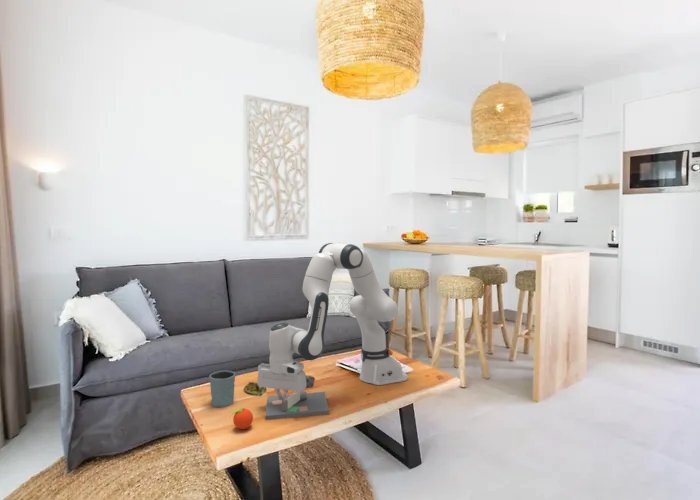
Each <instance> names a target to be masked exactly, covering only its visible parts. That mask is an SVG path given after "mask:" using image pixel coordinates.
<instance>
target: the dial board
mask: <svg viewBox="0 0 700 500" xmlns="http://www.w3.org/2000/svg"><path fill="white" fill-rule="evenodd" d="M292 394H293V393H291V394H286V398H287V397H289V396H290V395H292ZM266 397H267V398H266V406H265V415H264V419H265V420H266V421H267V420H276V419H288V418H289V419H291V418H297V417H298V418H300V417H311V416H321V415H322V416H323V415H330V410H329V409H330V408H329V405H328V401H327V400H328V399H327V396H326V392H325V391H317V392H307V399H305V400H299V401H298V402H297V403H295V404H294V405H293V406H291V407H290V408H289V409H288V410H286V411H282V401H283V400H278V396H277V395H270V396H266Z"/></svg>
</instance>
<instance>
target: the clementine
mask: <svg viewBox="0 0 700 500" xmlns="http://www.w3.org/2000/svg"><path fill="white" fill-rule="evenodd" d="M232 416H233V420H232V421H233V424H234V426H235V428H237V429H239V430H246V429H248V428H249V427H250V426H251V425H252V423H253V421H254V415H253V413H252V411H251V410H250V409H248V408H245V407H244V408H239V409H237V410H235V411H234V412H233V413H232V414H231V415H230V418H229V419H231V417H232Z"/></svg>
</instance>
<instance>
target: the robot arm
mask: <svg viewBox="0 0 700 500" xmlns="http://www.w3.org/2000/svg"><path fill="white" fill-rule="evenodd" d="M336 269H338V270H339V269H340V270H341V269H342V270H347V271H348V274H349V277H350V281H351V283H352V285H353V289H354V291H355V293H357V294H358V295H354V296H353V297H352V298H351V300H350V302H349V310H350V312H351V314H352V315H353V316H354V317H355V319H356V321H357V322H358V325H359V328H360V332H361V333H360V334H361V346H362V348H361V350H360V352H361V353H360V356H361V368H360V373H359V380H360V381H362V382H363V383H369V384H373V385H374V386H382V385H388V384H393V383H394V384H395V383H399V382H400V383H401V382H406V381H408V374H407V373H406V372H405V371H404V370H403V367H402V365H401V363H400V362H399V360H397V359H396V358H394V357H392V355H393V351H392V350H391V349H389V347H387V345H386V343H387V341H386V332H385V329H383V327H381V325H380V324H379V322H382V323H383V322H392V321H393V320H395V319H396V318H397V316H398V312H399V309H398V308H399V307H398V304H397V302H396V301H395V300H393V299H392V298H391V297H389V295H387V293H386V292H385V291H384V289H383V288H382V287H381V285H380V284H379V282H378V279H377V276H376V273H375V270H374V267H373V264H372V262H371V259H370V257H369V256H368V254H367V252H366V251H365V250H364V249H363V248H360V247H359V246H357V245H355V244H351V243H344V242H328V243H324V244H323V245H322V246H321V247H320V249H319V251H318V252H317V253H315V254H314V255H313V256H312V257H311V260H310V262H309V264H308V266H307V268H306V271H305V275H304V278H303V282H302V293H303V296H304V297H305V298H306V299H307V300H308V302H309V304H310V308H311V312H310V319H309V324H308V329H307V330H306V329H304V328H300V327H296V326H292V325H290V324H289V323H286V322H279V323H276V324H274V325H273V326H271V328H270V330H269V335H268V349H269V363H264V362H261V363H260V364H258V366H257V381H256V383H257V384H258V386H259V387H265V388H266V389H274V393H275V394H276V396H278V400H285V399H286V395H288V393H289V392H290V391H292V392H296V391H298V392H302V391H305V388H306V376H307V375H306V372H305V371H304V368H305V364H304V363H302V362H300V361H297V360H295V359H294V358H293V355H294V354H298V355H299V356H301V357H302V358H303V359H304V360H306V361H315V360H317V359H318V358H319V357H320V356H321V355H322V354H323V352H324V348H325V328H326V322H327V318H328V311H329V306H330V305H329V304H330V303H329V301H330V300H329V293H330V286H331V282H332V279H333V275H334V272H335V270H336ZM306 389H307V388H306ZM280 390H282V392H283V393H281V391H280Z"/></svg>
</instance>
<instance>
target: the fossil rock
mask: <svg viewBox="0 0 700 500" xmlns="http://www.w3.org/2000/svg"><path fill="white" fill-rule="evenodd" d="M314 380H315V376H312V375H306V388H305V389H312V388H313V387H314ZM305 389H304V390H305Z"/></svg>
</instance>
